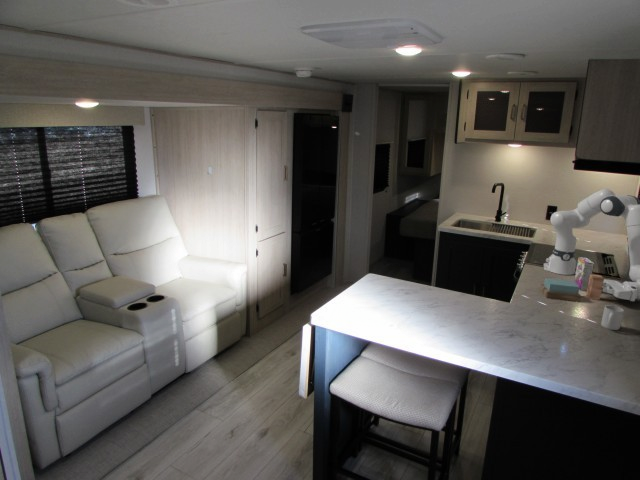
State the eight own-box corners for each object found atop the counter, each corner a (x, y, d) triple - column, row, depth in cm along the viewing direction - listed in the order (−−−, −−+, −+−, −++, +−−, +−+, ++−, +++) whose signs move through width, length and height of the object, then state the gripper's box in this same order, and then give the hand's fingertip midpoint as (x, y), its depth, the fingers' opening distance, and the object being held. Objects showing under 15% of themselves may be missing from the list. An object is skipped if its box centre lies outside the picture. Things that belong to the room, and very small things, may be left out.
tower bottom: (540, 290, 251) (541, 284, 250) (571, 294, 248) (573, 287, 247) (546, 299, 239) (547, 292, 238) (579, 303, 236) (581, 295, 235)
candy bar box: (572, 284, 264) (578, 256, 260) (582, 285, 263) (587, 257, 259) (579, 290, 253) (585, 262, 249) (589, 291, 252) (595, 263, 248)
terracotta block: (586, 295, 246) (590, 274, 243) (596, 296, 245) (600, 275, 242) (589, 298, 241) (593, 277, 238) (599, 300, 240) (604, 278, 237)
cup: (620, 326, 206) (624, 308, 204) (617, 333, 199) (621, 314, 197) (602, 322, 211) (606, 303, 209) (598, 328, 203) (602, 309, 201)
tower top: (544, 285, 249) (545, 278, 248) (571, 288, 246) (573, 281, 245) (549, 291, 239) (550, 284, 238) (578, 294, 237) (579, 287, 236)
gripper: (621, 278, 247) (593, 275, 250) (638, 290, 228) (607, 287, 230) (619, 289, 249) (591, 286, 251) (635, 302, 229) (605, 299, 232)
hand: (599, 286), depth 241 cm, fingers open, 8 cm apart
